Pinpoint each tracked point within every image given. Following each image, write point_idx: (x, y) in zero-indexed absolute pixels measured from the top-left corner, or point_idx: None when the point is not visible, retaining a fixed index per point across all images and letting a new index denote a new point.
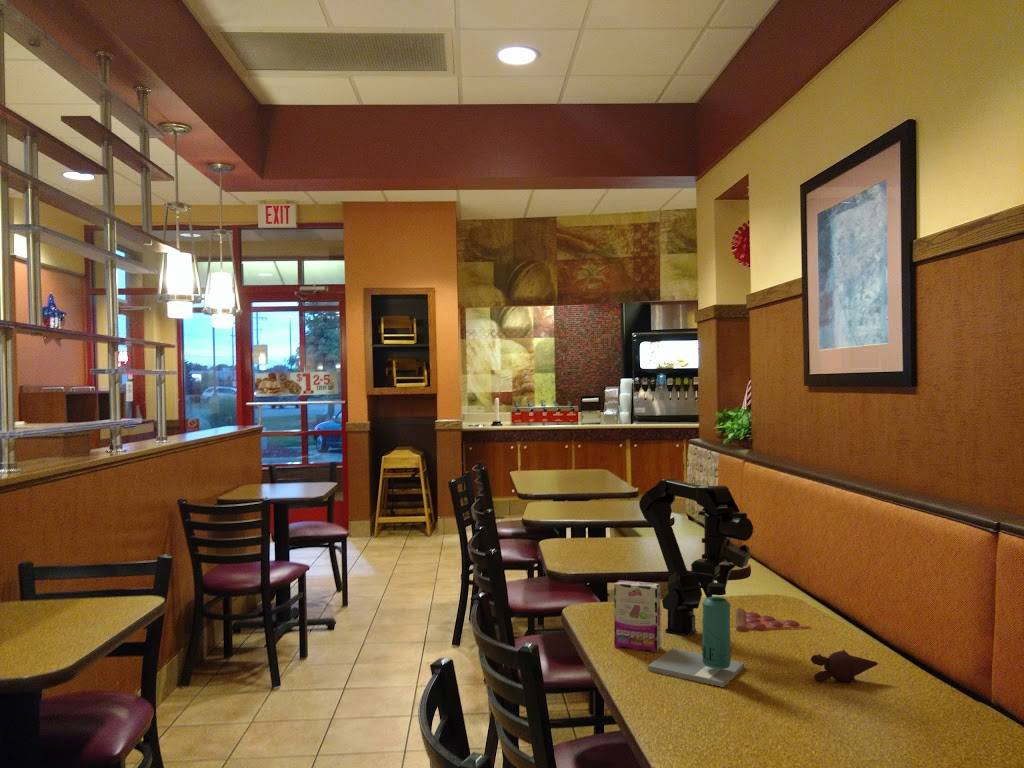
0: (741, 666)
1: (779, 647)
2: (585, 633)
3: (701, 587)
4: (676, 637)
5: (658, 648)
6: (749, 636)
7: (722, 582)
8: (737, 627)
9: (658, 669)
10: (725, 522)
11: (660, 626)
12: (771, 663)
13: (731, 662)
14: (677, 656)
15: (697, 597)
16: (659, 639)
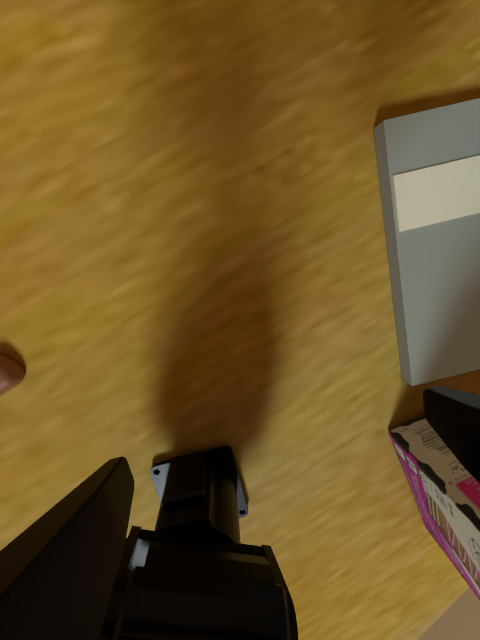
0: (417, 113)
1: (55, 152)
2: (422, 614)
3: (125, 633)
4: (264, 458)
5: (422, 420)
6: (41, 308)
7: (88, 551)
8: (16, 379)
9: None
10: None
11: (438, 477)
12: (254, 76)
13: (411, 161)
14: (477, 327)
15: (173, 565)
16: (427, 439)
